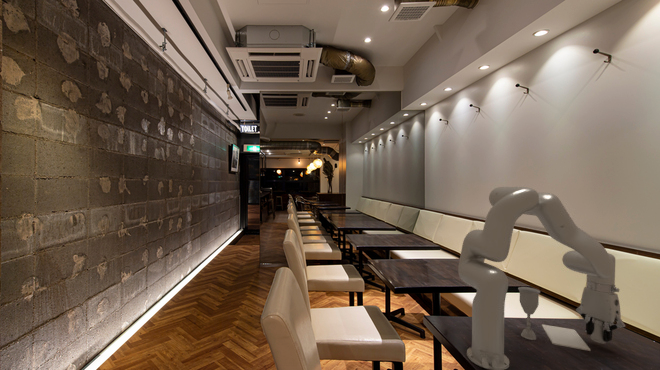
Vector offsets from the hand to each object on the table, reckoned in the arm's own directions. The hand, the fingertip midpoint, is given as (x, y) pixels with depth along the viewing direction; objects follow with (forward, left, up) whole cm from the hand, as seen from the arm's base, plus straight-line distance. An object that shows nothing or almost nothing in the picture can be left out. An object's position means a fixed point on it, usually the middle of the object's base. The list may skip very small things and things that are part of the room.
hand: (598, 336), depth 107 cm
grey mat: (+4, +9, -4) cm, 11 cm away
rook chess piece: (0, 0, -2) cm, 2 cm away
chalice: (-1, +21, -4) cm, 22 cm away
